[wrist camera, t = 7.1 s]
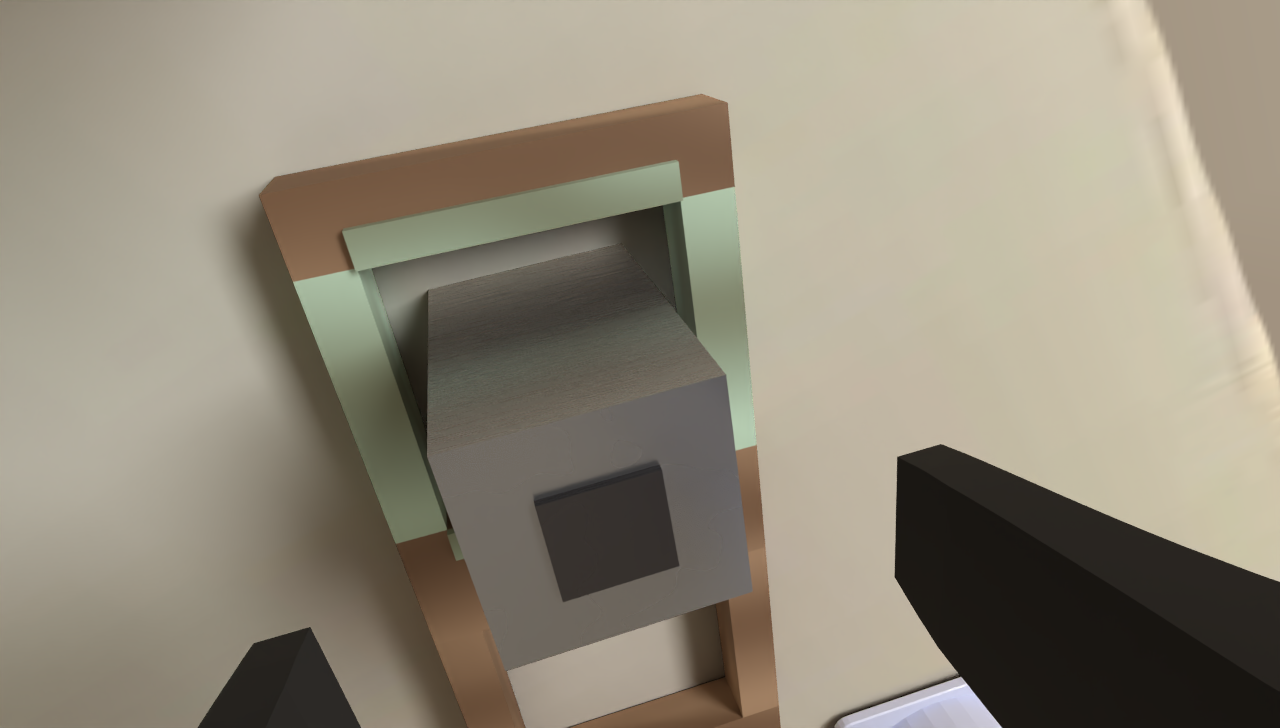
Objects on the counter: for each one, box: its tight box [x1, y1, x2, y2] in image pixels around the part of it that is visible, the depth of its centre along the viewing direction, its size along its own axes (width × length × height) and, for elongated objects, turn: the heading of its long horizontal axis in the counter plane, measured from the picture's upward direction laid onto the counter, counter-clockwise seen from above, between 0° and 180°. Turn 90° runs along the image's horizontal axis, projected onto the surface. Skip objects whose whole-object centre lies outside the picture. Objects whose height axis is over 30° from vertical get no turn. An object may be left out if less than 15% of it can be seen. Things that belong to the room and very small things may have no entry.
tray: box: [259, 94, 781, 728], centre depth 19 cm, size 20×9×2 cm, turn 9°
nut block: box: [427, 243, 753, 671], centre depth 15 cm, size 4×4×7 cm
